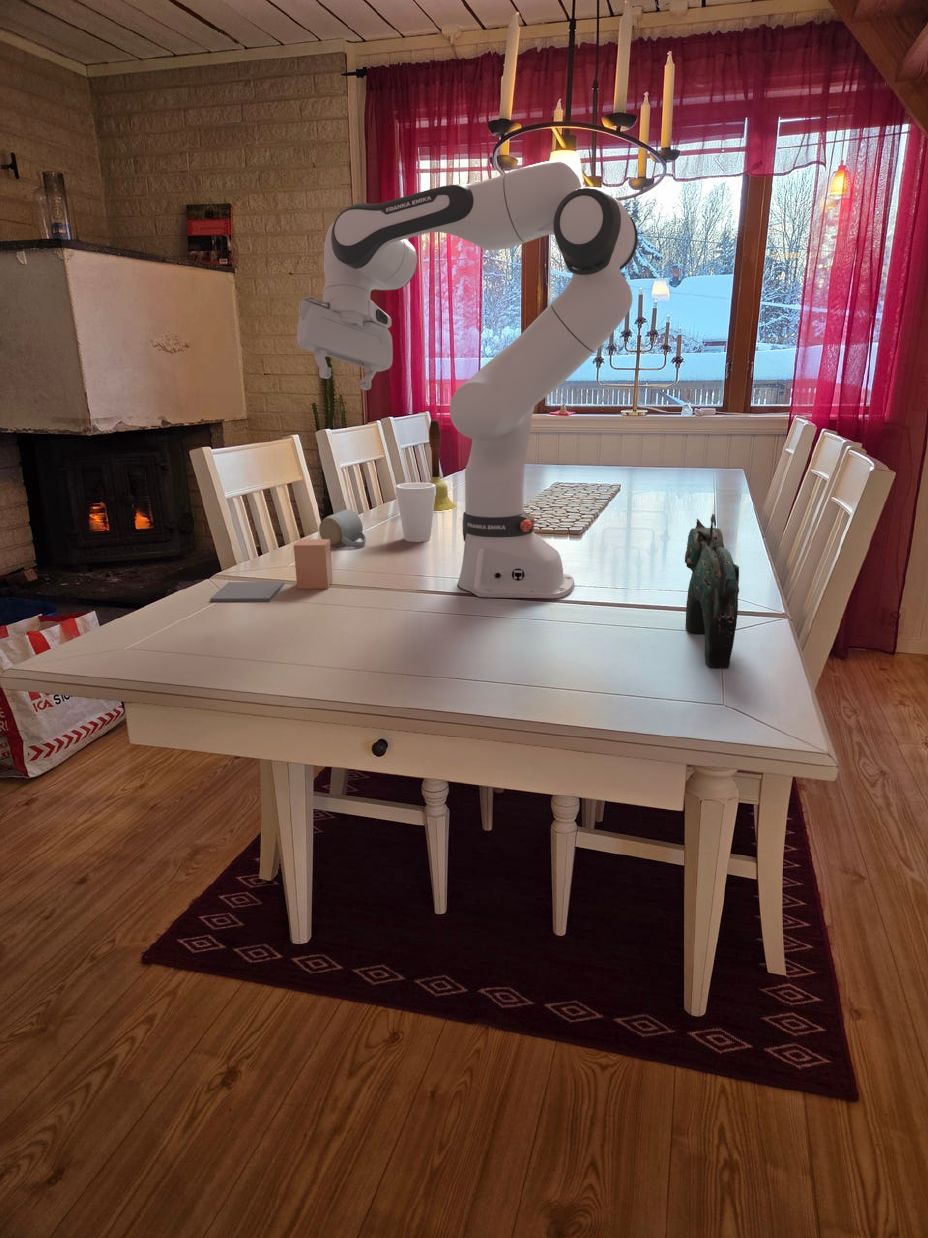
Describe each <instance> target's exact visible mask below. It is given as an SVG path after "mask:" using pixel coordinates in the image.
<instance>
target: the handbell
mask: <svg viewBox="0 0 928 1238" xmlns="http://www.w3.org/2000/svg"><path fill="white" fill-rule="evenodd" d="M440 427H441V426H440V422H439V420H438V419H431V420H430V423H429V430H428V443H429V446H430V450H431V452H430V453H431V479H430V481H428V482H427V483H431V484H435V485H436V495H435V502H434V511H442V510H449V509H453V508H455V507H456V506H457V504H455V503H454V502H453V501H452V500H451V499H450V497H449V496H448V495H449V494H448V492H449V491H448V490H449V489H448V485H447V484H446V483H445V482H444V481H443V480H442V479H441V477H440V448H441V443H442V436H441V433H442V432H441V428H440Z"/></svg>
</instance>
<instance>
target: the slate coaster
mask: <svg viewBox="0 0 928 1238" xmlns="http://www.w3.org/2000/svg"><path fill="white" fill-rule="evenodd" d="M284 586H285V581H232V582H231V581H228V582H227V583H226V584H225V585H223V586H222V587H221V588H220V590H218V591H217V592H216V593H215V594H214V595H212V596H211V597H210V598H209V599H210V602H213V603H214V602H217V603H218V602H222V603H223V602H225V603H227V602H235V603H236V602H271V601H272V600H273V598H274V597H275V596H276V595H277V594H278V592H279V591H281V589H282V588H283V587H284Z"/></svg>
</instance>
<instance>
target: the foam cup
mask: <svg viewBox="0 0 928 1238" xmlns="http://www.w3.org/2000/svg"><path fill="white" fill-rule="evenodd" d="M435 495H436V485H435V484H431V483H428V482H407V483H405V482H404V483H399V484H396V486H395V496H396V498H397V504H398V507H399V508H398V510H399V514H400V516H399V517H400V519H401V520H400V522H401V527H402V533H403V537H404V538H403V539H404V541H406V542H410V543H411V542H413V543H422V541H423V542H428V541H430V540H431V539H430V538H431V536H432V528H433V520H434V513H433V511H434V502H435ZM429 539H430V540H429ZM427 540H428V541H427Z"/></svg>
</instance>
